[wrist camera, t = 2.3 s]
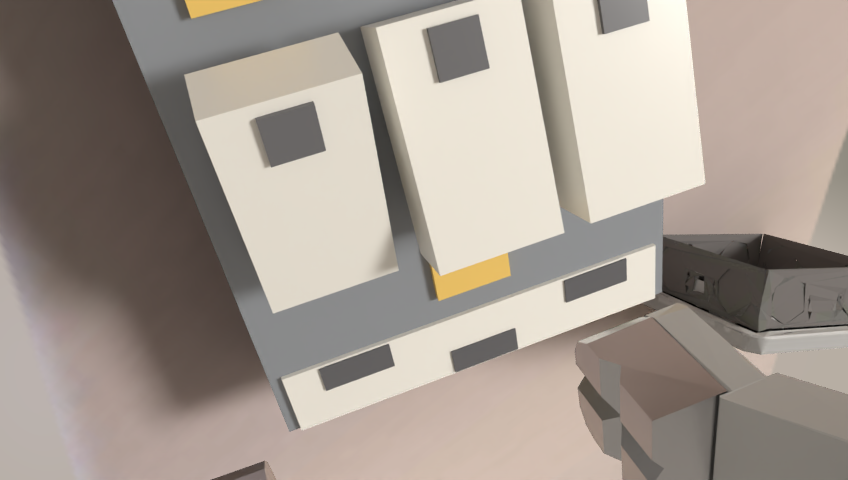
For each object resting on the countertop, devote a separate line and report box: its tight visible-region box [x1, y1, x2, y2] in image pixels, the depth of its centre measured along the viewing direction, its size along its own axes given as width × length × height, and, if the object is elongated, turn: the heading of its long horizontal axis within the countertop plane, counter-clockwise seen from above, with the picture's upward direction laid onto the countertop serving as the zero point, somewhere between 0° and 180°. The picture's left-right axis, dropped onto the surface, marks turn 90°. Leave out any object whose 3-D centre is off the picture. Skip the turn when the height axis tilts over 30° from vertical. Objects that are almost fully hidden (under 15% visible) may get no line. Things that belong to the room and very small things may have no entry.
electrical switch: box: [642, 234, 848, 355], centre depth 36 cm, size 9×5×9 cm, turn 80°
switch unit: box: [112, 0, 663, 431], centre depth 27 cm, size 22×18×6 cm
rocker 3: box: [521, 0, 705, 223], centre depth 24 cm, size 8×4×2 cm, turn 10°
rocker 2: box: [360, 0, 564, 276], centre depth 23 cm, size 8×4×3 cm, turn 10°
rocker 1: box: [184, 33, 399, 314], centre depth 22 cm, size 8×4×2 cm, turn 11°
